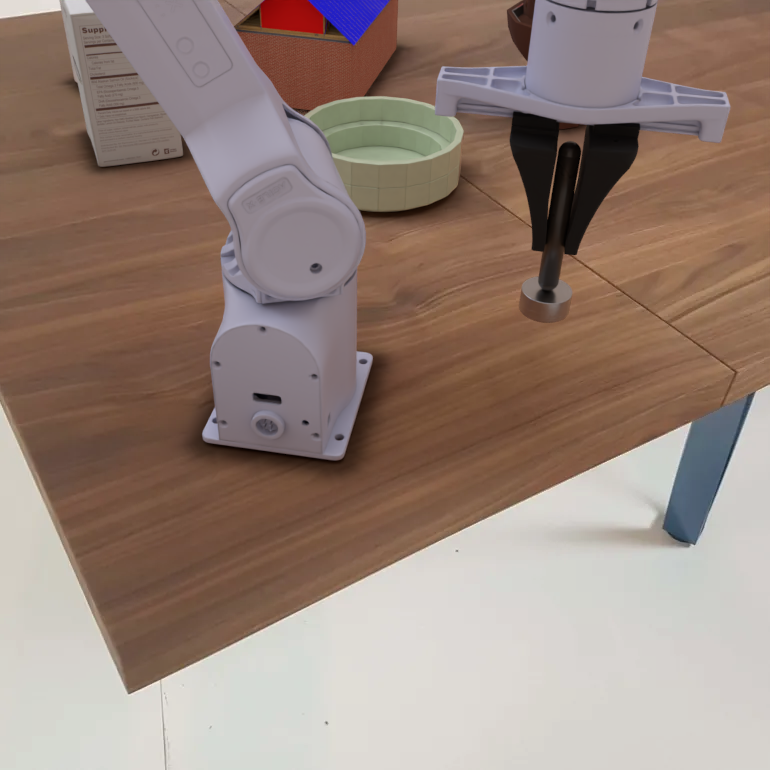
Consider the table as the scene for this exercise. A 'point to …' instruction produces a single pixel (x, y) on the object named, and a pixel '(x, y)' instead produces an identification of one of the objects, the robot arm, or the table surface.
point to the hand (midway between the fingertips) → (554, 244)
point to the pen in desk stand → (554, 246)
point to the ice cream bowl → (525, 33)
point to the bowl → (391, 151)
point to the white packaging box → (115, 96)
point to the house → (320, 46)
